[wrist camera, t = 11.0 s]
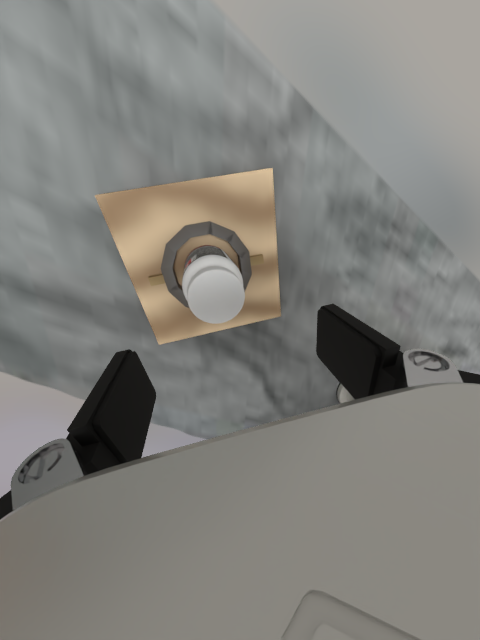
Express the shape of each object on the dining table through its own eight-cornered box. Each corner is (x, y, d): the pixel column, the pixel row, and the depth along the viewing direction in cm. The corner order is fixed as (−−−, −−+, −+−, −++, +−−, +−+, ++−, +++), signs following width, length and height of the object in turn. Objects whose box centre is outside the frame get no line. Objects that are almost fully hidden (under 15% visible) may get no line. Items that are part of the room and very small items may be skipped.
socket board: (278, 313, 31) (284, 320, 29) (160, 340, 29) (157, 350, 27) (269, 169, 22) (277, 164, 20) (99, 196, 20) (88, 193, 18)
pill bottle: (176, 277, 24) (166, 312, 16) (198, 234, 23) (200, 246, 14) (217, 298, 27) (228, 338, 18) (240, 260, 25) (264, 284, 16)
